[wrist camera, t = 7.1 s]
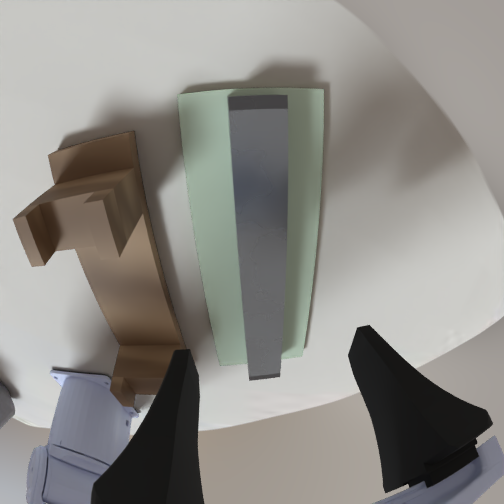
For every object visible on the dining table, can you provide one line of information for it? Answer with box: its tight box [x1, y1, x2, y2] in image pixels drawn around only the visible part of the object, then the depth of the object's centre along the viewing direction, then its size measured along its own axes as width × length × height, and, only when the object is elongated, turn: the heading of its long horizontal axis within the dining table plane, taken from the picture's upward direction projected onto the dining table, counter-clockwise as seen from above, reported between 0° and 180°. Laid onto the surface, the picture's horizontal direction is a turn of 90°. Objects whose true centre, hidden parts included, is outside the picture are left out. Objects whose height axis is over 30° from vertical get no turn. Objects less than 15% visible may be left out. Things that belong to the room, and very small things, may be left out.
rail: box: [227, 95, 288, 381], centre depth 16 cm, size 19×2×2 cm, turn 2°
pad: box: [177, 88, 324, 366], centre depth 17 cm, size 20×7×1 cm, turn 2°
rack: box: [13, 131, 186, 407], centre depth 15 cm, size 19×5×5 cm, turn 2°
